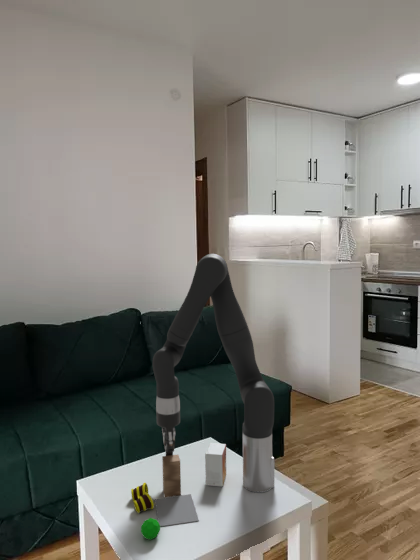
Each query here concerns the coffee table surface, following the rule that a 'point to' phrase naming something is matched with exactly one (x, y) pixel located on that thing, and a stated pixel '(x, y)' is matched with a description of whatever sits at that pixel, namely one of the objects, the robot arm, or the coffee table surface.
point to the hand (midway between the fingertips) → (169, 461)
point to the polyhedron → (150, 528)
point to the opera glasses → (142, 498)
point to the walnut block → (171, 476)
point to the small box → (215, 464)
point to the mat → (175, 510)
